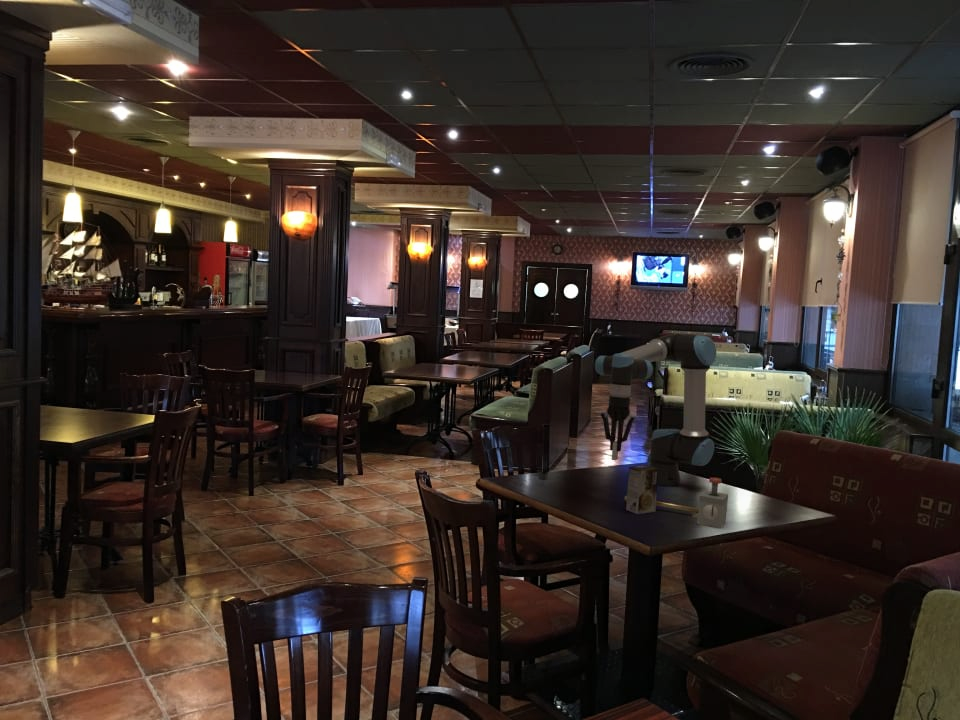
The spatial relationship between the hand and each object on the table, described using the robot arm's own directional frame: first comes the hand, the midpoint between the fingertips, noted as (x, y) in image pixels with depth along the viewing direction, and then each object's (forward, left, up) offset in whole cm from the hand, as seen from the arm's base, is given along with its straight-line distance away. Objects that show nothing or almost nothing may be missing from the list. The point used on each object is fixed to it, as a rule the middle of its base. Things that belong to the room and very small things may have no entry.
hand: (614, 459), depth 279 cm
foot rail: (-7, +18, -17) cm, 26 cm away
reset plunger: (-1, +36, -7) cm, 37 cm away
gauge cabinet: (-1, +36, -17) cm, 40 cm away
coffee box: (0, +11, -18) cm, 21 cm away
